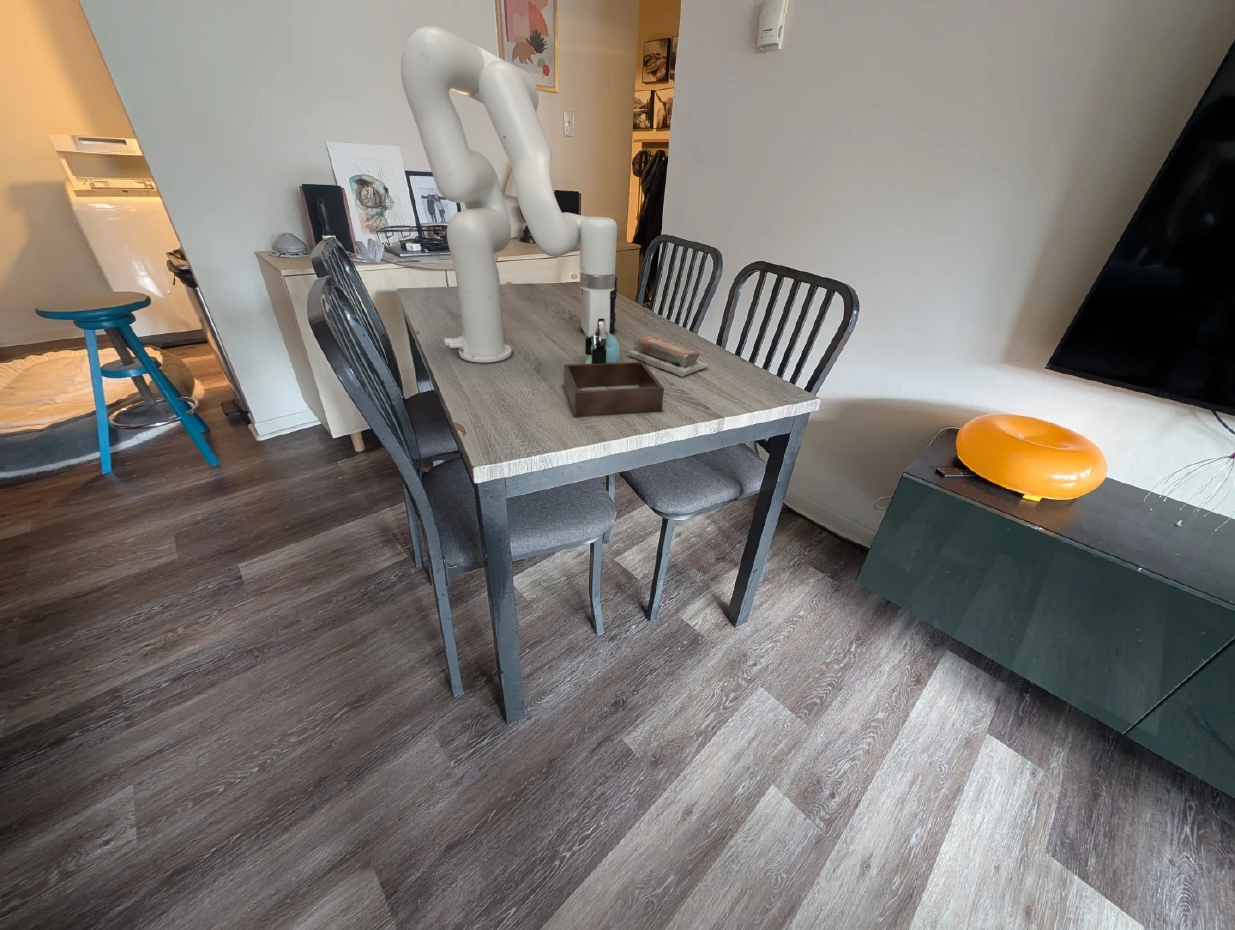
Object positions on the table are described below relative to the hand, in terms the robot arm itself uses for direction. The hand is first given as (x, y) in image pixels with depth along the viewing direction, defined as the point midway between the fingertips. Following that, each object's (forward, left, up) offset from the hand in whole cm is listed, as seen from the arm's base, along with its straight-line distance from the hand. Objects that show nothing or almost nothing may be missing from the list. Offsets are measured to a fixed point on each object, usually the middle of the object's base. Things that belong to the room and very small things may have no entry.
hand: (595, 359), depth 112 cm
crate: (0, -17, -2) cm, 17 cm away
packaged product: (+19, +2, -2) cm, 19 cm away
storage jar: (+7, +29, -2) cm, 30 cm away
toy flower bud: (0, -1, -2) cm, 3 cm away
